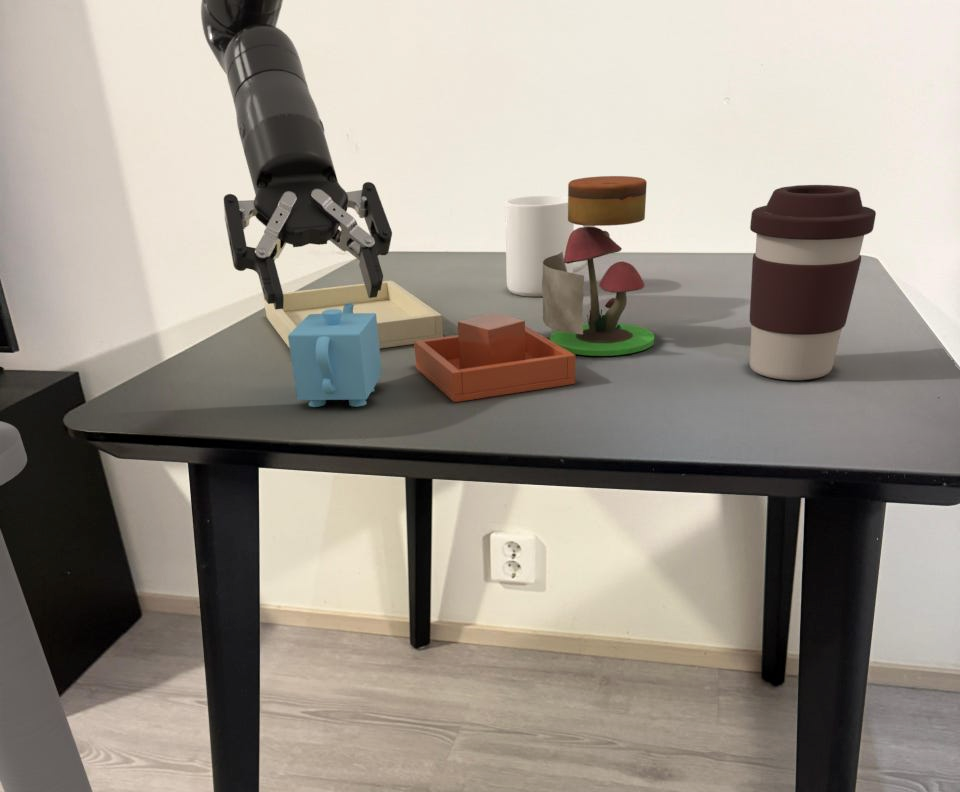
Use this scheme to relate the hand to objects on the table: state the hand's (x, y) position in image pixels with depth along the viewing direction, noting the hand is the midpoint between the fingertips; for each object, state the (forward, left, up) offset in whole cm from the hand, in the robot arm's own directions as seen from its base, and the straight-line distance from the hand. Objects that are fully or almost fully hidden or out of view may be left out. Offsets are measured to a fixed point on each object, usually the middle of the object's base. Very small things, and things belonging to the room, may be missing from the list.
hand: (327, 298), depth 81 cm
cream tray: (+6, +20, -8) cm, 23 cm away
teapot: (0, -3, -8) cm, 8 cm away
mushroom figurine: (+28, +2, -8) cm, 29 cm away
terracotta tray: (+14, -4, -8) cm, 16 cm away
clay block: (+14, -4, -7) cm, 16 cm away
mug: (+34, +27, -8) cm, 44 cm away
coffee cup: (+39, -15, -8) cm, 42 cm away
